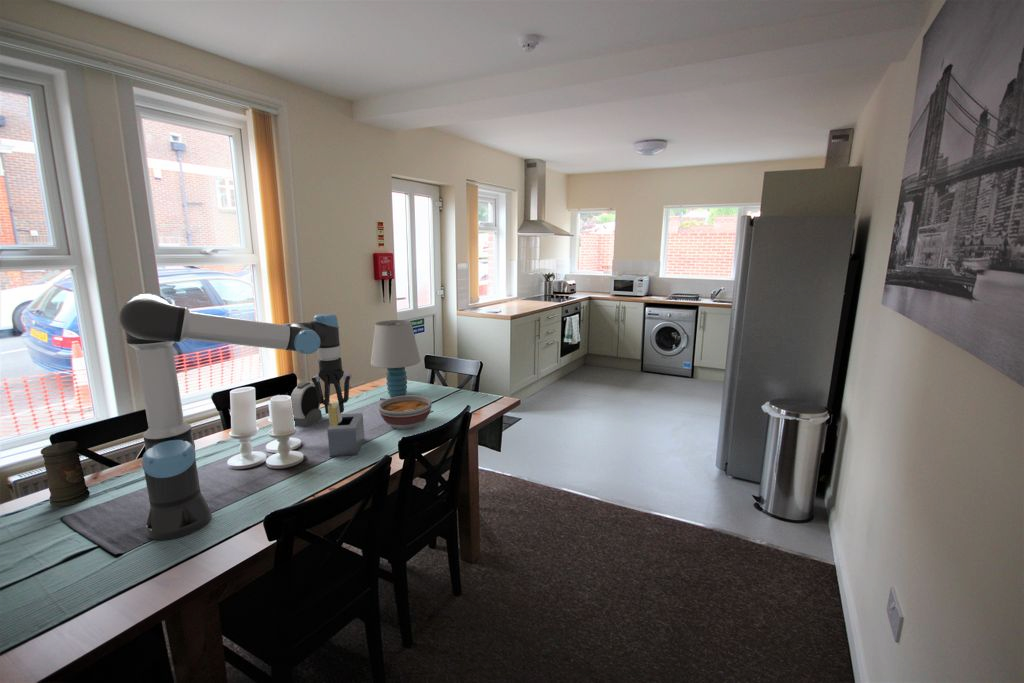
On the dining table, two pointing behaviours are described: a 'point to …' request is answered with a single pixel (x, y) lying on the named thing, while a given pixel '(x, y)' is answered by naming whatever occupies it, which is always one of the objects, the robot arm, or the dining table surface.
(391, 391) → the lamp
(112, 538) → the dining table surface
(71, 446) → the container
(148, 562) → the dining table surface
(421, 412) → the bowl
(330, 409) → the block
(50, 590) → the dining table surface
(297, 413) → the alarm clock
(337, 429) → the box
